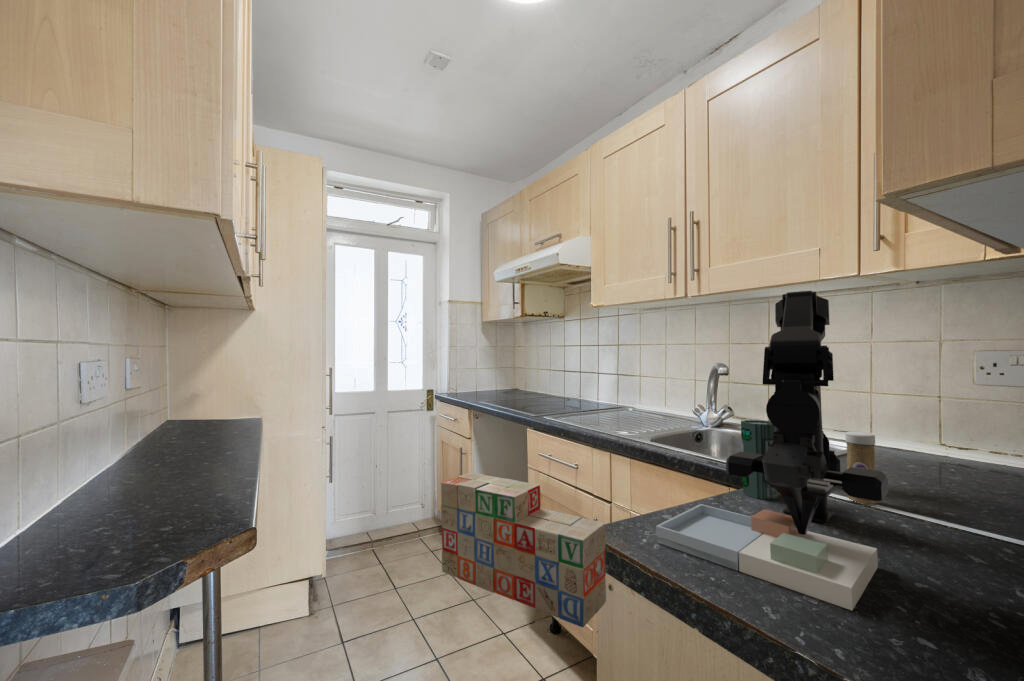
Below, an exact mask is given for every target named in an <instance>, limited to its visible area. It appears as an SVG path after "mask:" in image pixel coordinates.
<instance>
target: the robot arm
mask: <svg viewBox="0 0 1024 681" xmlns="http://www.w3.org/2000/svg"><path fill="white" fill-rule="evenodd" d="M781 298H782V299H780V300H779V301H777V302H776V303H775V305H774V307H775V308H774V310H775V312H774V314H775V319H774V320H775V321H774V322H775V324H776V326H777V328H780V330H779V331H777V332H774V333H772V335H771V337H770V340H769V345H768V346H765V347H764V352H763V355H764V356H763V365H762V366H763V369H762V385H765V386H766V385H767V386H772V385H773V386H774V389H775V390H774V391H773V394H772V395H771V396H770V398H769V399H768V400H767V403H766V408H765V413H766V415H767V416H766V417H767V418H768V421H770V422H771V423H772V424H773V425H774V426H775V431H774V432H773V442H772V445H771V447H770V448H769V449H768V451H767V452H766V454H765V455H762V454H755V453H748V452H742V451H738V452H737V453H733V454H730V455H729V456H728V457H727V459H726V462H725V471H726V472H725V474H727V475H731V476H735V477H741V478H743V477H748V476H749V475H750V474H752V473H753V472H759V473H765V479H766V481H767V482H768V483H767V484H768V486H769V487H772V488H775V489H776V490H777V491H778V494H779V495H780V496H781V498H782V499H783V501H784V503H785V506H786V508H784V509H783V510H782V514H786V515H790V516H792V519H793V521H794V523H795V526H796V528H797V531H798V533H799V534H802V535H805V534H806V533H807V531H809V529H810V525H811V524H812V521H813V522H818V523H822V524H823V523H824V524H826V523H827V522H828V521H830V520H831V518H832V517H834V516H835V511H834V510H833V511H832V510H829V509H828V508H829V507H828V506H829V504H828V496H830V495H831V494H832V493H834V492H836V487H841V490H843V492H845V493H846V494H847V495H848V496H851V497H856V498H862V499H867V500H873V501H877V502H882V501H883V500H884V499H885V498H886V496H888V493H889V480H888V477H887V475H886V474H885V473H884V472H883V471H881V470H869V469H862V468H854V467H849V468H848V469H845V470H844V471H843V472H842V471H841V459H840V458H839V457H837V454H836V453H835V451H836V450H830V448H831V446H830V440H829V438H828V437H827V435H826V433H825V432H824V430H823V417H822V416H823V415H822V413H823V412H822V392H821V393H819V391H818V390H817V386H821V387H829V382H830V381H831V382H834V380H835V379H834V377H835V376H834V360H833V358H834V357H833V352H831V351H830V347H828V345H822V342H823V340H824V338H825V337H826V326H830V304H829V303H830V302H829V299H827V298H824V297H822V296H819V295H817V291H812V290H803V291H800V290H799V291H789V292H786V293H783V294H782V297H781ZM821 378H823V379H821Z"/></svg>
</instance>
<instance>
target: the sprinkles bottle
mask: <svg viewBox="0 0 1024 681" xmlns="http://www.w3.org/2000/svg"><path fill="white" fill-rule="evenodd" d="M845 444H846V462H847V469H848V468H849V467H854V468H862V469H869V470H876V456H875V446H876V435H875V434H873V433H869V432H865V431H864V432H863V431H846V432H845ZM847 469H846V470H847ZM876 471H877V470H876ZM848 498H849V499H851V500H853V501H856V502H859V503H858V504H860V503H863V504H862V505H865V504H874V505H877V504H878V501H873V500H867V499H862V498H856V497H851V496H849V495H848V496H847V499H848ZM849 499H848V500H849ZM851 500H850V501H851ZM853 501H852V502H853ZM856 502H855V503H856ZM876 503H877V504H876Z"/></svg>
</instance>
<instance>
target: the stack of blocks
mask: <svg viewBox="0 0 1024 681" xmlns="http://www.w3.org/2000/svg"><path fill="white" fill-rule="evenodd" d="M440 492H441V494H440V495H441V497H440V498H441V506H440V511H441V512H440V514H441V517H440V519H441V520H440V521H441V523H440V524H441V548H442V550H441V570H442V571H441V572H442V573H445V574H447V575H449V576H452V577H454V578H456V579H459V580H461V581H463V582H466V583H468V584H471V585H472V586H476V587H477V588H481V589H483V590H485V591H487V592H490V593H494V594H496V595H499V596H502V597H504V598H508V599H510V600H512V601H515V602H518V603H521V604H522V605H526V606H528V607H530V608H533V609H536V610H537V611H540V612H543V613H545V614H547V615H551V616H552V617H555V618H559V619H560V620H562V621H565V622H568V623H570V624H572V625H575V626H578V627H581V628H584V627H586V625H587V624H588V623H589V622H590V621H591V620H592V619H593V617H594V616H595V615H596V614H598V612H599V611H600V610H601V609H602V607H604V605H605V604H606V602H607V586H606V576H607V575H606V574H607V567H606V566H607V565H606V547H607V546H606V541H607V540H606V523H605V522H602V521H597V520H594V519H590V518H589V519H588V518H583V517H582V516H577V515H572V514H569V513H565V512H563V513H562V512H559V511H555V510H550V509H546V508H541V485H540V484H538V483H533V482H532V483H531V482H527V481H526V482H525V481H520V480H516V479H511V478H505V477H504V478H502V477H498V476H492V475H486V474H482V473H476V472H474V471H473V472H472V471H471V472H468V473H464V474H461V475H458V476H457V477H452V478H449V479H447V480H445V481H442V482H440Z"/></svg>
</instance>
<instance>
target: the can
mask: <svg viewBox="0 0 1024 681" xmlns="http://www.w3.org/2000/svg"><path fill="white" fill-rule="evenodd" d="M774 431H775V426H774V425H773V424H772V423H771V422H770V420H763V419H762V420H758V419H756V420H755V419H754V420H753V419H746V420H745V419H744V420H741V421H740V435H741V436H740V437H741V439H740V440H741V452H748V453H755V454H762V455H765V454H766V452H767V451H768V449H769V448H770V447H771V445H772V442H773V432H774ZM767 483H768V482H767V481H766V479H765V473H759V472H753V473H752V474H750V475H749V476H748V477H742V494H744V495H745V496H747V497H749V498H753V499H757V500H758V499H760V500H769V501H770V500H773V501H774V500H777V499H779V492H778V491H777V490H776V489H775V488H772V487H769V486H768V484H767Z"/></svg>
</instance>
